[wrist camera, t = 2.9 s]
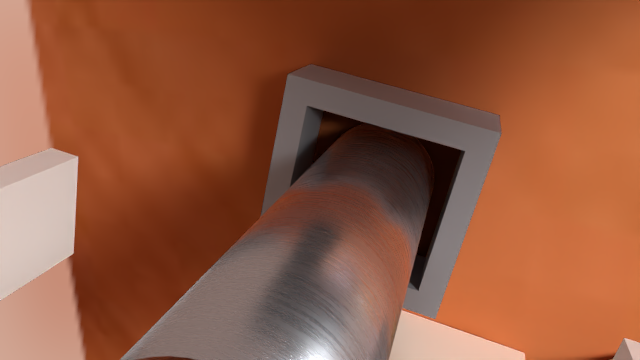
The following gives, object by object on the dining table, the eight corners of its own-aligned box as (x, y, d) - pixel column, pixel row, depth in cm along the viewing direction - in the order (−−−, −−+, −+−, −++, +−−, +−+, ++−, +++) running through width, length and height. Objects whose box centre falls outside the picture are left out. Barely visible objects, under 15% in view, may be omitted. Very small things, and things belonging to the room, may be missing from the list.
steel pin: (338, 109, 19) (-99, 464, 5) (448, 140, 19) (322, 669, 4) (315, 208, 21) (-72, 707, 6) (416, 241, 20) (241, 886, 6)
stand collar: (311, 64, 19) (287, 73, 17) (499, 115, 18) (501, 133, 16) (277, 228, 22) (252, 255, 19) (440, 282, 20) (435, 319, 18)
